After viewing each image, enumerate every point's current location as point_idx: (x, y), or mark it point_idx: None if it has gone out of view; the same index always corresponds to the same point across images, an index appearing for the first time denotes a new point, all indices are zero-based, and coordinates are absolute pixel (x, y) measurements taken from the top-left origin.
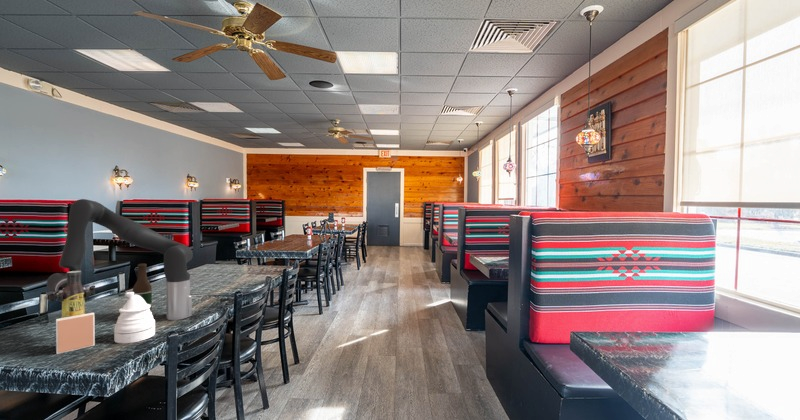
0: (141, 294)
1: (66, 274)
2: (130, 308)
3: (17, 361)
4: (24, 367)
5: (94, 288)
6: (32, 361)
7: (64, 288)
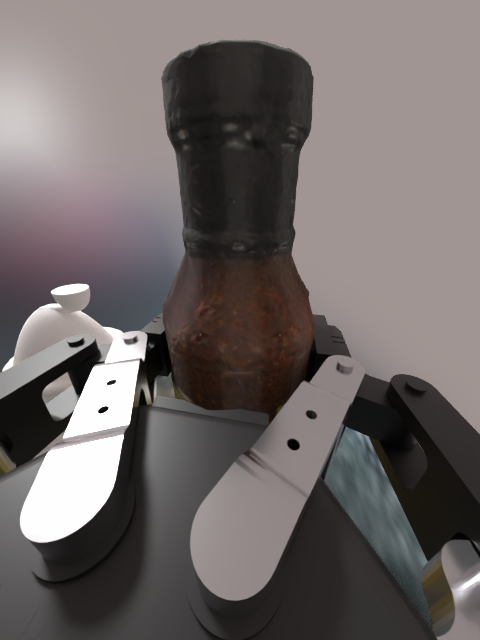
0: None
1: (311, 112)
2: (110, 334)
3: (406, 530)
4: (363, 442)
5: (77, 336)
6: (354, 477)
7: (306, 289)
